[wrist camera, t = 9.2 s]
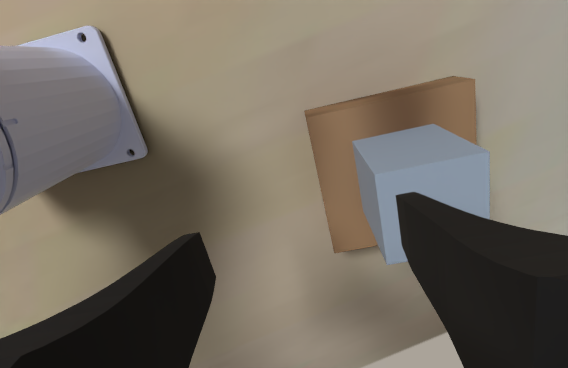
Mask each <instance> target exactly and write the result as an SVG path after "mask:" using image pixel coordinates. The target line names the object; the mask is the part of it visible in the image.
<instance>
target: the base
mask: <svg viewBox="0 0 568 368" xmlns="http://www.w3.org/2000/svg"><path fill="white" fill-rule="evenodd" d="M305 116H306V121H307V125H308V130H309V135H310V140H311V144H312V149H313V154H314V159H315V163H316V168H317V173H318V178H319V182H320V187H321V192H322V197H323V201H324V206H325V211H326V216H327V220H328V225H329V230H330V235H331V239H332V244H333V249H334V253H339V252H344V251H350V250H355V249H361V248H366V247H372V246H377V245H378V244H377V241H376V239H375V237H374V234H373V232H372V230H371V228H370V225H369V223H368V221H367V219H366V216H365V214H364V212H363V207H362V200H361V194H360V188H359V182H358V175H357V169H356V163H355V156H354V150H353V144H352V141H355V140H360V139H365V138H369V137H374V136H379V135H383V134H388V133H392V132H397V131H402V130H406V129H411V128H416V127H420V126H425V125H430V124H435V125H437V126H439V127H441V128H443V129H445V130H447V131H449V132H451V133H453V134H455V135H457V136H459V137H461V138H463V139H465V140H467V141H469V142H471V143H473V144H475V145H476V102H475V79H470V78H463V77H456V76H452V77H447V78H443V79H439V80H435V81H430V82H426V83H422V84H417V85H413V86H409V87H405V88H400V89H396V90H392V91H387V92H383V93H379V94H375V95H370V96H366V97H362V98H357V99H353V100H349V101H345V102H340V103H336V104H332V105H327V106H323V107H319V108H315V109H310V110H306V111H305Z"/></svg>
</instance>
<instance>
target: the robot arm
mask: <svg viewBox="0 0 568 368" xmlns="http://www.w3.org/2000/svg"><path fill="white" fill-rule="evenodd" d="M83 33H84V34H85V36H86V41H85V42H83V40H82V38H81V35H82V34H83ZM130 149H132V150H133V151H134V153H135V155H132V154H131V153H130V151H129V150H130ZM147 152H148V150H147V147H146V144H145V142H144V139H143V137H142V134H141V132H140V129H139V127H138V124H137V122H136V119H135V117H134V114H133V112H132V109H131V107H130V104H129V102H128V99H127V97H126V94H125V92H124V89H123V87H122V84H121V82H120V79H119V77H118V74H117V72H116V69H115V67H114V65H113V62H112V60H111V57H110V55H109V52H108V50H107V47H106V45H105V42H104V40H103V37H102V35H101V33H100V31H99V30H98V29H97V28H96V27H94V26H84V27H80V28H77V29H73V30H70V31H66V32H63V33H59V34H56V35H52V36H49V37H45V38H42V39H38V40H35V41H31V42H28V43H24V44H21V45H17V46H0V215H1V214H3V213H4V212H6V211H8V210H10V209H12V208H14V207H15V206H17V205H19V204H21V203H23V202H25V201H26V200H28V199H30V198H32V197H34V196H35V195H37V194H39V193H41V192H43V191H45V190H46V189H48V188H50V187H52V186H54V185H56V184H57V183H59V182H61V181H63V180H65V179H67V178H68V177H70V176H72V175H74V174H76V173H79V172H84V171H88V170H92V169H97V168H101V167H106V166H110V165H114V164H119V163H123V162H127V161H132V160H136V159H140V158H143V157H145V156H146V155H147ZM396 203H397V211H398V219H399V227H400V235H401V244H402V247H403V250H404V252H405V255H406V257H407V260H408V262H409V265H410V267H411V269H412V271H413V273H414V274H415V276H416V278H417V280H418V281H419V283H420V285H421V287H422V288H423V290H424V292H425V293H426V295H427V297H428V298H429V300H430V302H431V304H432V305H433V307H434V309H435V310H436V312H437V314H438V315H439V317H440V319H441V321H442V322H443V324H444V326H445V328H446V330H447V332H448V334H449V335H450V338H451V340H452V342H453V344H454V346H455V349H456V351H457V353H458V355H459V357H460V360H461V362H462V364H463V366H464V368H568V236H565V235H559V234H553V233H547V232H541V231H535V230H530V229H525V228H521V227H516V226H512V225H508V224H504V223H500V222H496V221H493V220H489V219H486V218H483V217H480V216H477V215H474V214H471V213H468V212H465V211H462V210H460V209H457V208H454V207H452V206H449V205H447V204H444V203H442V202H439V201H437V200H435V199H432V198H430V197H427V196H425V195H422V194H420V193H417V192H409V193H404V194H399V195H396ZM215 280H216V275H215V273H214V270H213V267H212V265H211V262H210V259H209V257H208V254H207V251H206V249H205V246H204V243H203V241H202V238H201V235H200V233H199V232H198V233H193V234H187V235H183V236H181V237H180V238H178V239H176V240H175V241H173V242H172V243H170V244H169V245H167V246H166V247H164V248H163V249H162V250H160V251H159V252H157V253H156V254H155V255H153V256H152V257H150V258H149V259H148V260H146V261H145V262H143V263H142V264H141V265H139V266H138V267H136V268H135V269H133V270H132V271H130V272H129V273H127V274H126V275H125V276H123V277H122V278H120V279H119V280H117V281H116V282H114V283H112V284H111V285H109V286H108V287H106V288H104V289H103V290H101V291H99V292H98V293H96V294H94V295H92V296H91V297H89V298H87V299H85V300H84V301H82V302H80V303H78V304H76V305H74V306H72V307H70V308H68V309H66V310H64V311H62V312H60V313H58V314H56V315H54V316H52V317H50V318H48V319H46V320H44V321H41V322H39V323H37V324H35V325H32V326H30V327H28V328H26V329H23V330H21V331H18V332H16V333H14V334H11V335H9V336H6V337H4V338H1V339H0V368H189V365H190V362H191V358H192V355H193V352H194V350H195V347H196V344H197V341H198V338H199V336H200V333H201V330H202V327H203V324H204V322H205V319H206V316H207V313H208V310H209V307H210V304H211V301H212V296H213V292H214V286H215Z"/></svg>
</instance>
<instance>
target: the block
mask: <svg viewBox="0 0 568 368" xmlns="http://www.w3.org/2000/svg"><path fill="white" fill-rule="evenodd" d="M352 144H353V150H354V156H355V163H356V169H357V175H358V182H359V188H360V194H361V200H362V207H363V212H364V214H365V216H366V219H367V221H368V223H369V225H370V228H371V230H372V232H373V234H374V237H375V239H376V241H377V244H378V246H379V248H380V250H381V253H382V255H383V257H384V259H385V262H386V264H387V265H390V264H396V263H401V262H407V261H408V260H407V257H406V255H405V252H404V250H403V247H402V244H401V235H400V227H399V219H398V211H397V203H396V195H399V194H404V193H409V192H417V193H420V194H422V195H425V196H427V197H430V198H432V199H435V200H437V201H439V202H442V203H444V204H447V205H449V206H452V207H454V208H457V209H460V210H462V211H465V212H468V213H471V214H474V215H477V216H480V217H483V218H486V219H489V220H490V152H489V151H487V150H485V149H483V148H481V147H479V146H477V145H475V144H473V143H471V142H469V141H467V140H465V139H463V138H461V137H459V136H457V135H455V134H453V133H451V132H449V131H447V130H445V129H443V128H441V127H439V126H437V125H435V124H430V125H425V126H420V127H416V128H411V129H406V130H402V131H397V132H392V133H388V134H383V135H379V136H374V137H369V138H365V139H360V140H355V141H352Z"/></svg>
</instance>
